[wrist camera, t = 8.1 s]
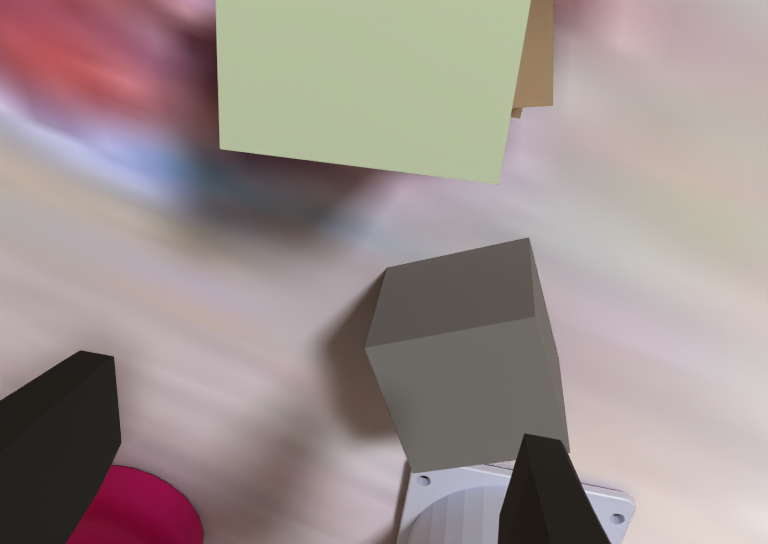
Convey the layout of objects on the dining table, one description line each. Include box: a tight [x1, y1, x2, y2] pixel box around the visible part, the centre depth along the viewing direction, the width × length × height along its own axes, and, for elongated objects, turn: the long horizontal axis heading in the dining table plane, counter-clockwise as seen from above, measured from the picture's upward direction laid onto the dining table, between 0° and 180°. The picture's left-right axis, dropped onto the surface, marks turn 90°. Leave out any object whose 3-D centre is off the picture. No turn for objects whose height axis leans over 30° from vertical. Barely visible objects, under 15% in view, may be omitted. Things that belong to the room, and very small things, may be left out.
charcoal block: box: [364, 238, 570, 474], centre depth 21 cm, size 4×4×4 cm
